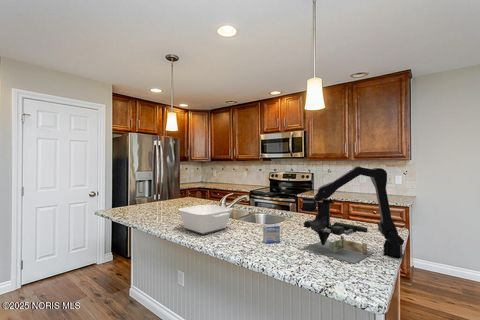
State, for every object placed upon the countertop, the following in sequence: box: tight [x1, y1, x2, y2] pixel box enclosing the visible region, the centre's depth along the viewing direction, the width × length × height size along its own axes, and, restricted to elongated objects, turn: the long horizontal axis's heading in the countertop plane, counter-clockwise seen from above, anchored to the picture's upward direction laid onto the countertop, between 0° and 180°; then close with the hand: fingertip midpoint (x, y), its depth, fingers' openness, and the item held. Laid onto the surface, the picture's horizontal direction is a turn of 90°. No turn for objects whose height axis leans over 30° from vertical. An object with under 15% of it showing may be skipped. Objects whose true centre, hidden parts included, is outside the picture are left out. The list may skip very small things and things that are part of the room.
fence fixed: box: [340, 235, 368, 255], centre depth 120 cm, size 12×2×6 cm, turn 41°
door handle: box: [330, 221, 368, 235], centre depth 156 cm, size 3×20×16 cm
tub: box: [177, 204, 233, 236], centre depth 158 cm, size 34×27×13 cm
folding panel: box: [329, 238, 342, 253], centre depth 120 cm, size 10×2×4 cm, turn 132°
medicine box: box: [262, 224, 281, 245], centre depth 134 cm, size 8×4×9 cm, turn 105°
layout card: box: [303, 240, 374, 265], centre depth 121 cm, size 25×19×1 cm
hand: (323, 245), depth 122 cm, fingers closed
